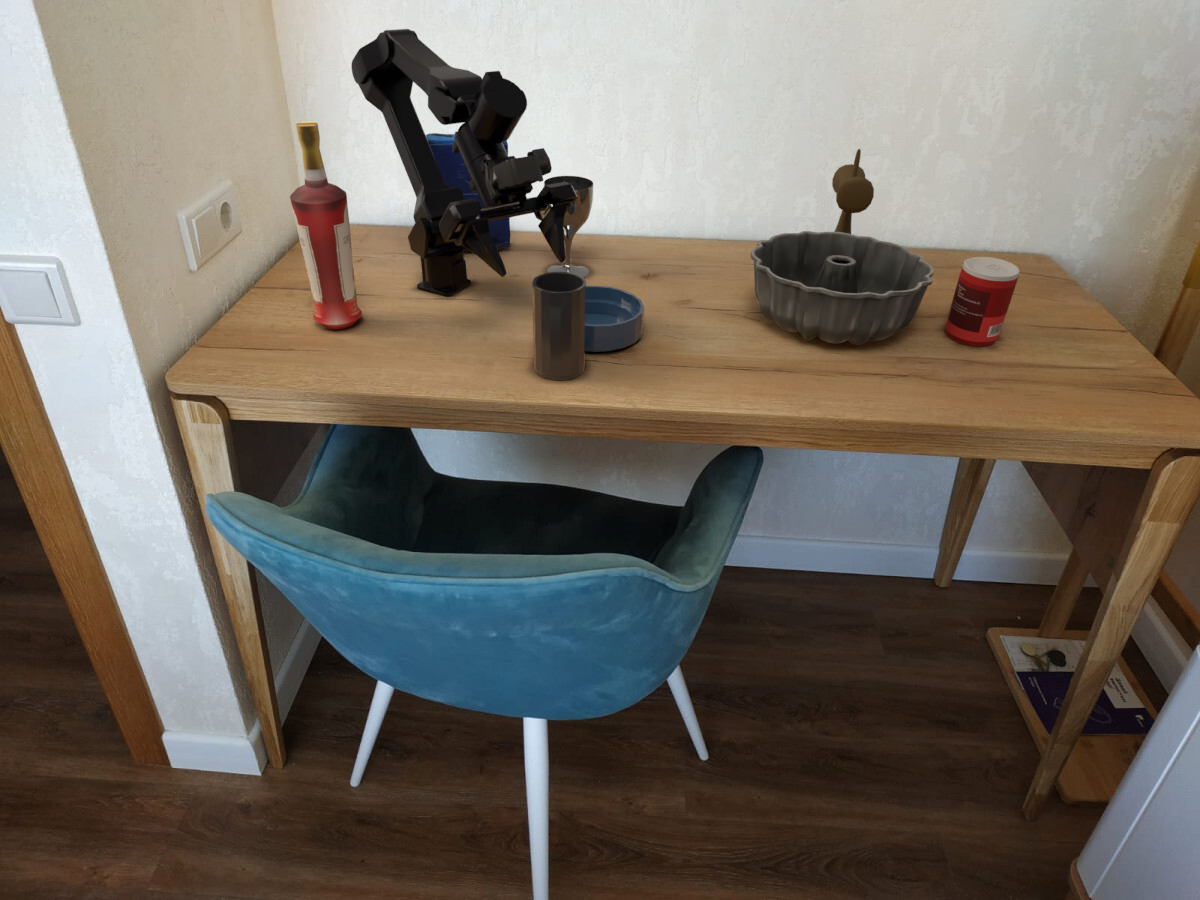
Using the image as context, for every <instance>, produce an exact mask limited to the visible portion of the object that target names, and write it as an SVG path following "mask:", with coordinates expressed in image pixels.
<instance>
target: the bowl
mask: <svg viewBox="0 0 1200 900" xmlns="http://www.w3.org/2000/svg"><path fill="white" fill-rule="evenodd" d="M644 315H645V306H644V303H643V301H642V299H641V298H639V297H638V295H636V294H634V293H632V292H629V291H627V290H626V289H625V290H624V289H621V288H617V287H613V286H607V285H606V286H605V285H586V325H585V352H589V353H601V352H602V353H605V352H612V351H616V350H621V349H624V348H627V347H629V346H632V345H633V344H635V343H636V342H638V341H639V340H640V339H641V337H642V334H643V332H644V318H645V317H644Z"/></svg>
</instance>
